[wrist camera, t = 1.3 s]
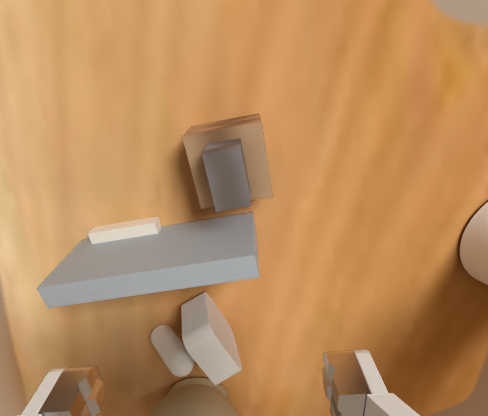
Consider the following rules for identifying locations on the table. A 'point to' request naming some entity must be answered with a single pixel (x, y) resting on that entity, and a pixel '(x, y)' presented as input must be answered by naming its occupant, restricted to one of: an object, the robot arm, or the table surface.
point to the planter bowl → (195, 400)
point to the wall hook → (199, 342)
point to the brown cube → (228, 162)
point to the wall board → (153, 259)
